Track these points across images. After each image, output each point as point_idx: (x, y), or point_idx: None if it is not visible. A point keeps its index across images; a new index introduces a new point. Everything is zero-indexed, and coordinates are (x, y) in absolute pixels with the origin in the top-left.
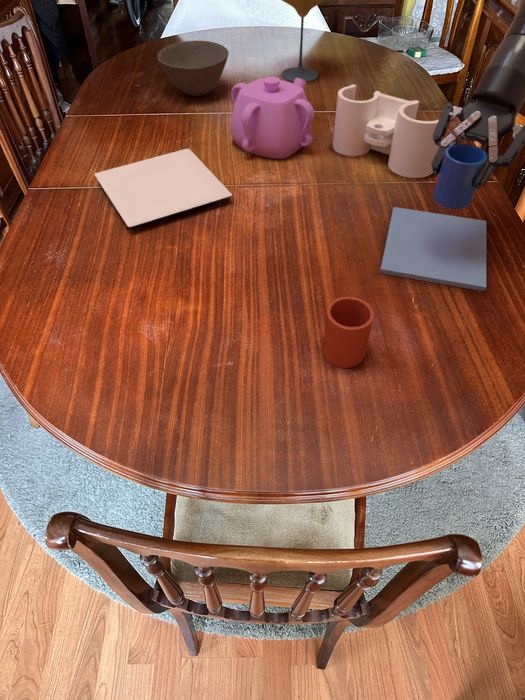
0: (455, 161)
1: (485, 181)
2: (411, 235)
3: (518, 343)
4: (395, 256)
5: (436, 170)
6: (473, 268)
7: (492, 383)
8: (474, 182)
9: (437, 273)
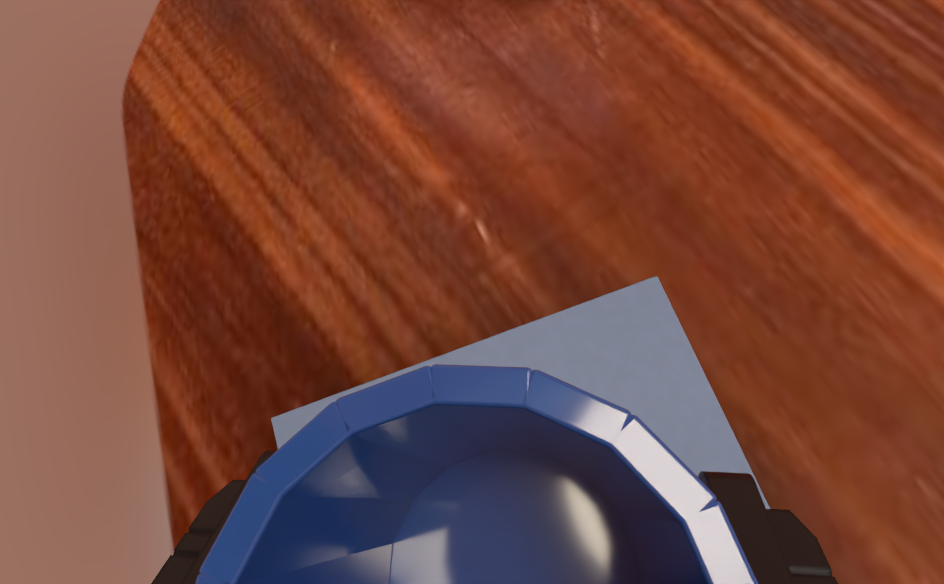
0: (507, 371)
1: (211, 502)
2: None
3: (140, 252)
4: (651, 381)
5: (700, 477)
6: None
7: (183, 86)
8: None
9: None
